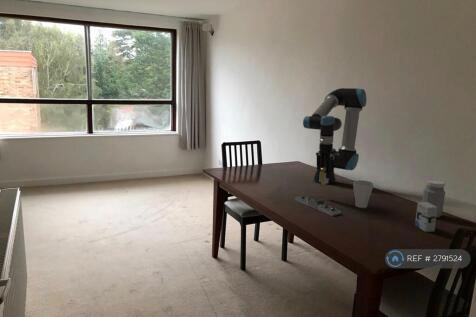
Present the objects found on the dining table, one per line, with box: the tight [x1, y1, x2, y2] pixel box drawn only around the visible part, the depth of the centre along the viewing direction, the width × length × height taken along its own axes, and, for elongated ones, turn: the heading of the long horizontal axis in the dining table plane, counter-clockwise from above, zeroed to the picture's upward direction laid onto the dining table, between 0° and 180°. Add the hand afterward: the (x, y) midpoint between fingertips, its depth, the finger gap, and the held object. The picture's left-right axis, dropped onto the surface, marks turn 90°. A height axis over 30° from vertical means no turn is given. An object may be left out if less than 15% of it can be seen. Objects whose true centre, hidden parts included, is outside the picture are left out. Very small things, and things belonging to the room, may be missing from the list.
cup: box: [352, 180, 375, 209], centre depth 197 cm, size 10×10×14 cm
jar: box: [421, 179, 446, 219], centre depth 185 cm, size 10×10×18 cm
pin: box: [320, 167, 327, 188], centre depth 209 cm, size 5×5×11 cm
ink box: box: [414, 201, 438, 233], centre depth 168 cm, size 8×5×12 cm, turn 5°
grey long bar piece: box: [294, 195, 342, 217], centre depth 195 cm, size 29×7×4 cm, turn 32°
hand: (323, 182), depth 210 cm, fingers closed on pin, 3 cm apart
